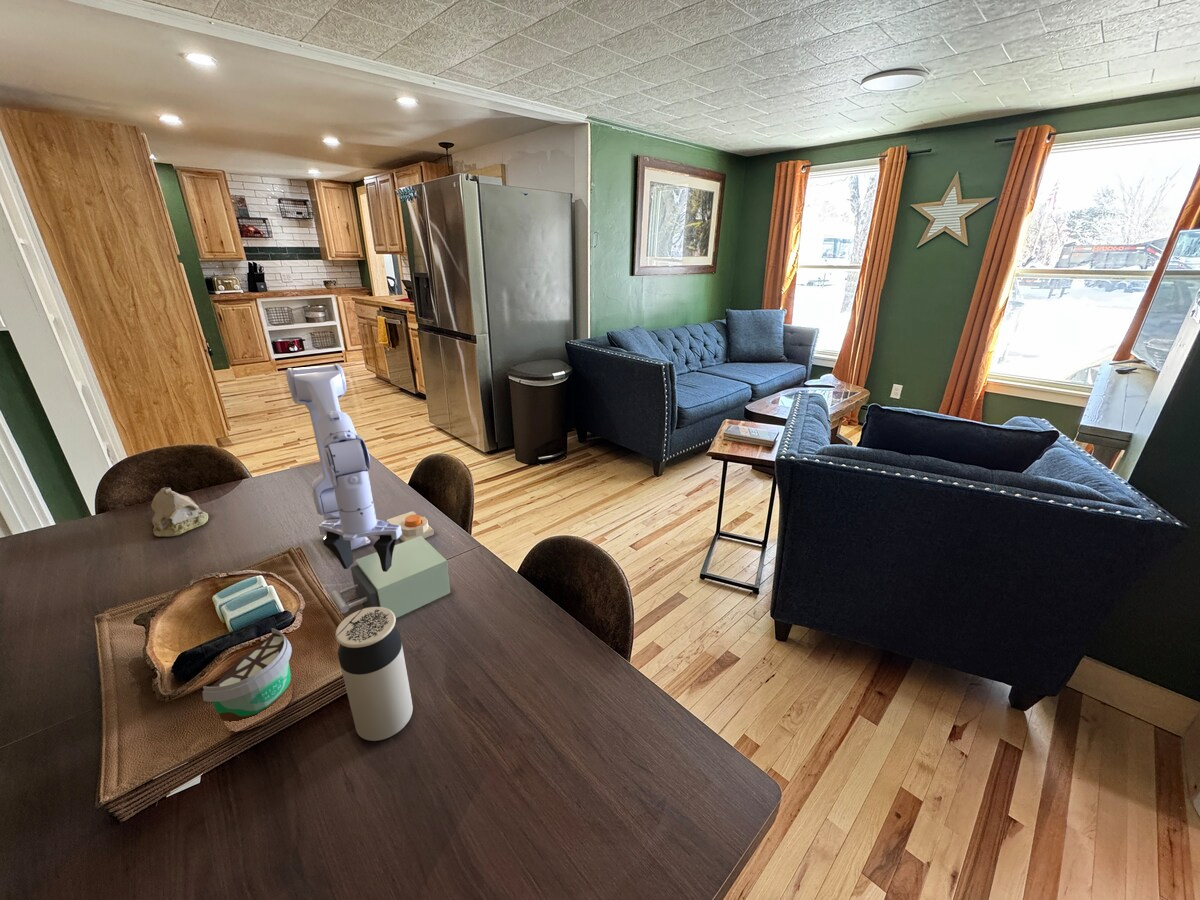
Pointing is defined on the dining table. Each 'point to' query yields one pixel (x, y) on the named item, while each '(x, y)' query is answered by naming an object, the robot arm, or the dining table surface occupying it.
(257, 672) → the food container
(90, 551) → the dining table surface
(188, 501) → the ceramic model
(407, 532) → the control block
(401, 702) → the travel mug
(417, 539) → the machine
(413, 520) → the button
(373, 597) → the compartment
